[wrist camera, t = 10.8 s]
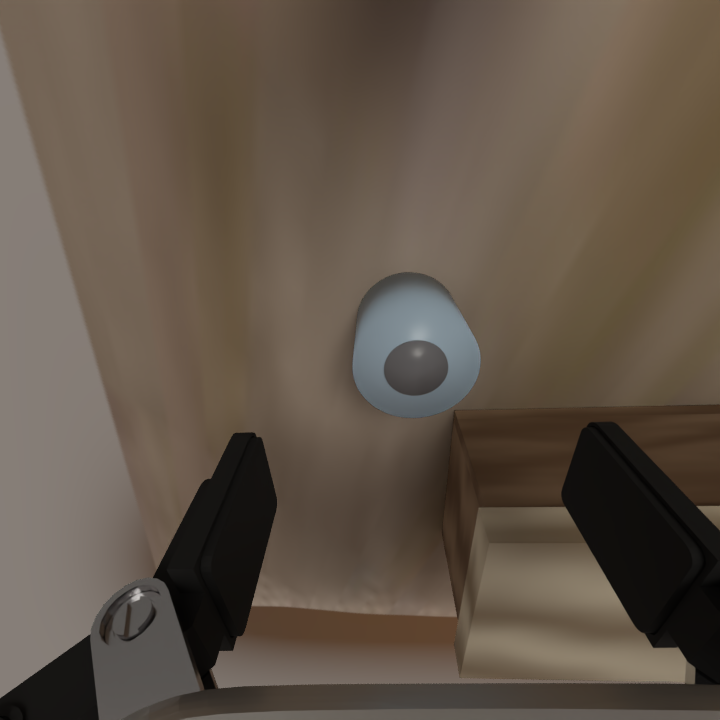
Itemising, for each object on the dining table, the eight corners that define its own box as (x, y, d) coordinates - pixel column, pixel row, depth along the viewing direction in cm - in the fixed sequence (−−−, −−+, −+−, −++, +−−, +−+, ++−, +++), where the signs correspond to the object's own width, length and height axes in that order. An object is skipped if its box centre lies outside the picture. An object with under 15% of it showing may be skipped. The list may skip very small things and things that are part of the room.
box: (454, 410, 21) (486, 511, 15) (732, 404, 20) (883, 509, 14) (441, 532, 27) (461, 639, 21) (656, 531, 26) (740, 643, 20)
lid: (478, 507, 15) (501, 584, 12) (903, 504, 14) (1028, 586, 11) (454, 644, 21) (465, 714, 19) (745, 648, 21) (800, 722, 18)
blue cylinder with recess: (354, 274, 17) (348, 312, 13) (460, 269, 17) (489, 307, 13) (359, 364, 20) (355, 420, 16) (452, 361, 20) (473, 418, 15)
